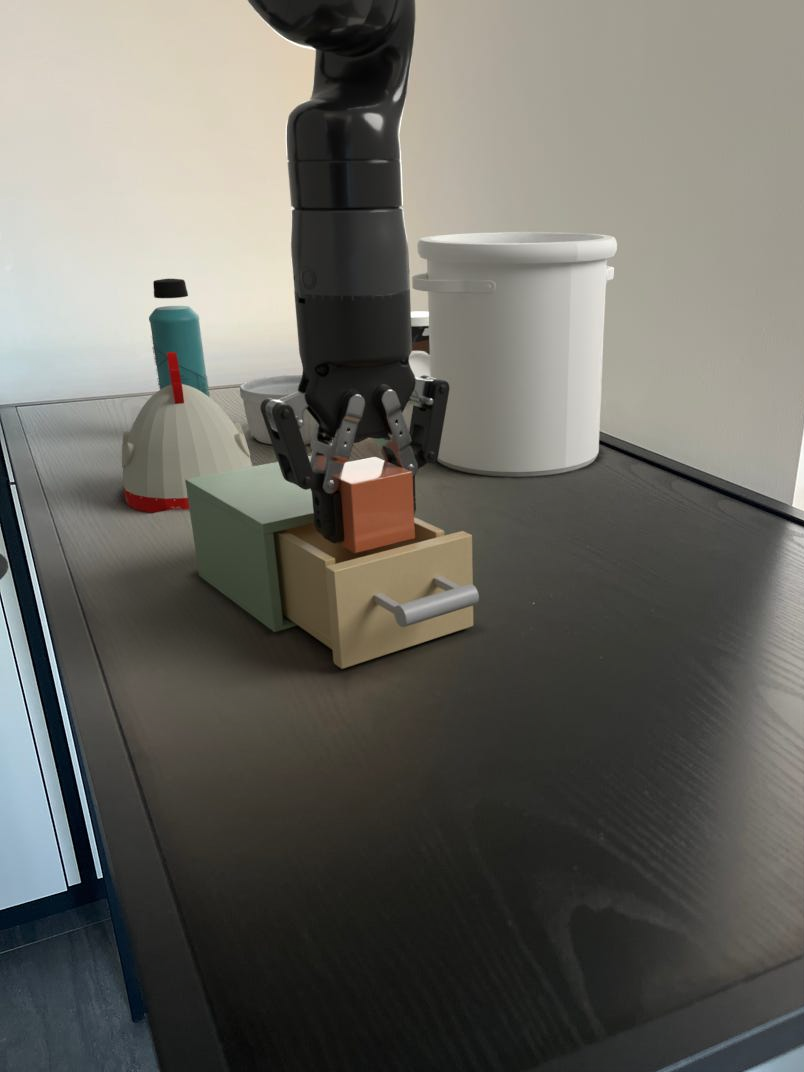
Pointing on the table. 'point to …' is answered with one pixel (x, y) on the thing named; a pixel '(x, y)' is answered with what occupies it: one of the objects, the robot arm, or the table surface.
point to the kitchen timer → (177, 445)
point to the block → (376, 504)
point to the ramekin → (274, 389)
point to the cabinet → (246, 534)
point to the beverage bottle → (177, 337)
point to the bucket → (518, 347)
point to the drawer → (376, 590)
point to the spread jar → (420, 344)
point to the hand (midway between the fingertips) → (366, 530)
